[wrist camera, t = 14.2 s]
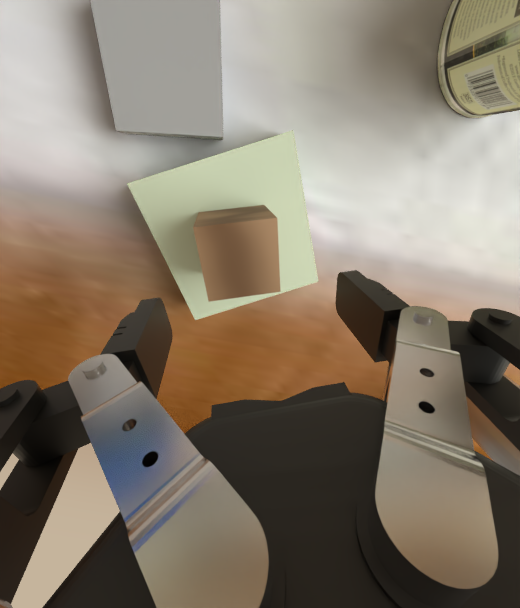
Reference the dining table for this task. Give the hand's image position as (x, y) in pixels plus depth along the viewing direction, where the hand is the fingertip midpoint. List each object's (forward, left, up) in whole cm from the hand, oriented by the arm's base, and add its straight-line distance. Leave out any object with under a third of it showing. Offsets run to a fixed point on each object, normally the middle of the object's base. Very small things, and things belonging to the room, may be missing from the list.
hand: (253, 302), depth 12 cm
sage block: (0, 0, -14) cm, 14 cm away
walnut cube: (0, 0, -10) cm, 10 cm away
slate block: (+3, -11, -14) cm, 18 cm away
